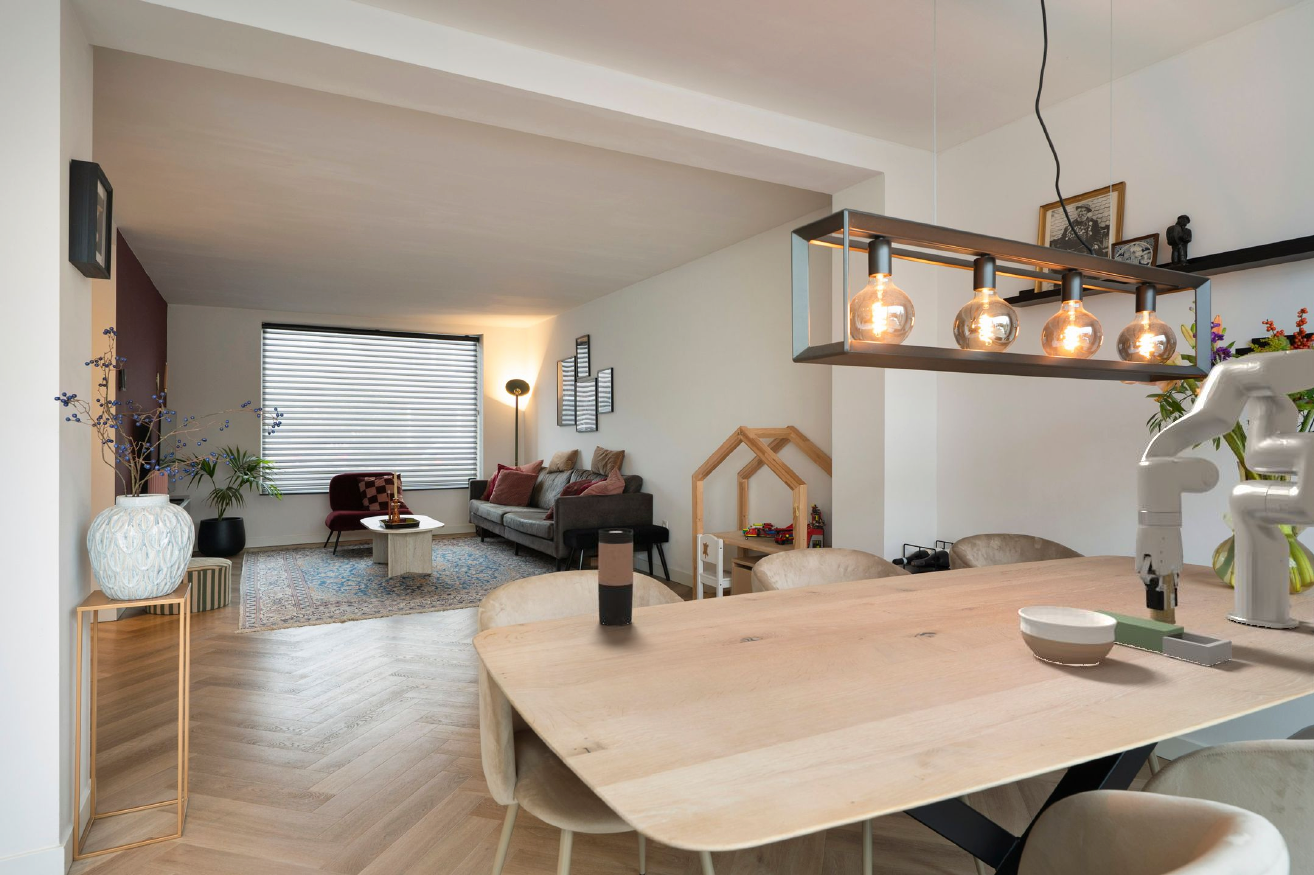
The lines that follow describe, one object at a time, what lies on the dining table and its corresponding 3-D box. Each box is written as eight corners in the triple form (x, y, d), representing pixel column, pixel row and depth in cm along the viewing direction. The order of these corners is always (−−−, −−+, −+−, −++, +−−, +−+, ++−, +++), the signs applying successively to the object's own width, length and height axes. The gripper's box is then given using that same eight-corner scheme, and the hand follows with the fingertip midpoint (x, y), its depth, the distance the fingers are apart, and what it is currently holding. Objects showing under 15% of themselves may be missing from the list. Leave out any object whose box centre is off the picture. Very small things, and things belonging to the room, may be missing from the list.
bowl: (1132, 674, 127) (1132, 628, 127) (1032, 668, 130) (1032, 623, 131) (1097, 649, 143) (1097, 608, 143) (1008, 644, 146) (1008, 603, 146)
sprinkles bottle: (1181, 624, 151) (1179, 559, 151) (1161, 626, 151) (1159, 560, 150) (1163, 619, 156) (1161, 555, 155) (1143, 620, 155) (1142, 556, 155)
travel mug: (592, 619, 164) (593, 529, 164) (624, 616, 167) (625, 527, 167) (605, 627, 157) (605, 533, 157) (638, 624, 160) (638, 531, 160)
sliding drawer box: (1101, 630, 156) (1101, 609, 156) (1231, 659, 136) (1231, 635, 136) (1077, 635, 152) (1078, 614, 152) (1208, 666, 132) (1208, 641, 132)
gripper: (1161, 514, 160) (1163, 598, 160) (1118, 521, 152) (1120, 610, 152) (1200, 517, 154) (1203, 604, 154) (1157, 524, 145) (1160, 617, 146)
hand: (1162, 606), depth 153 cm, fingers closed on sprinkles bottle, 4 cm apart
